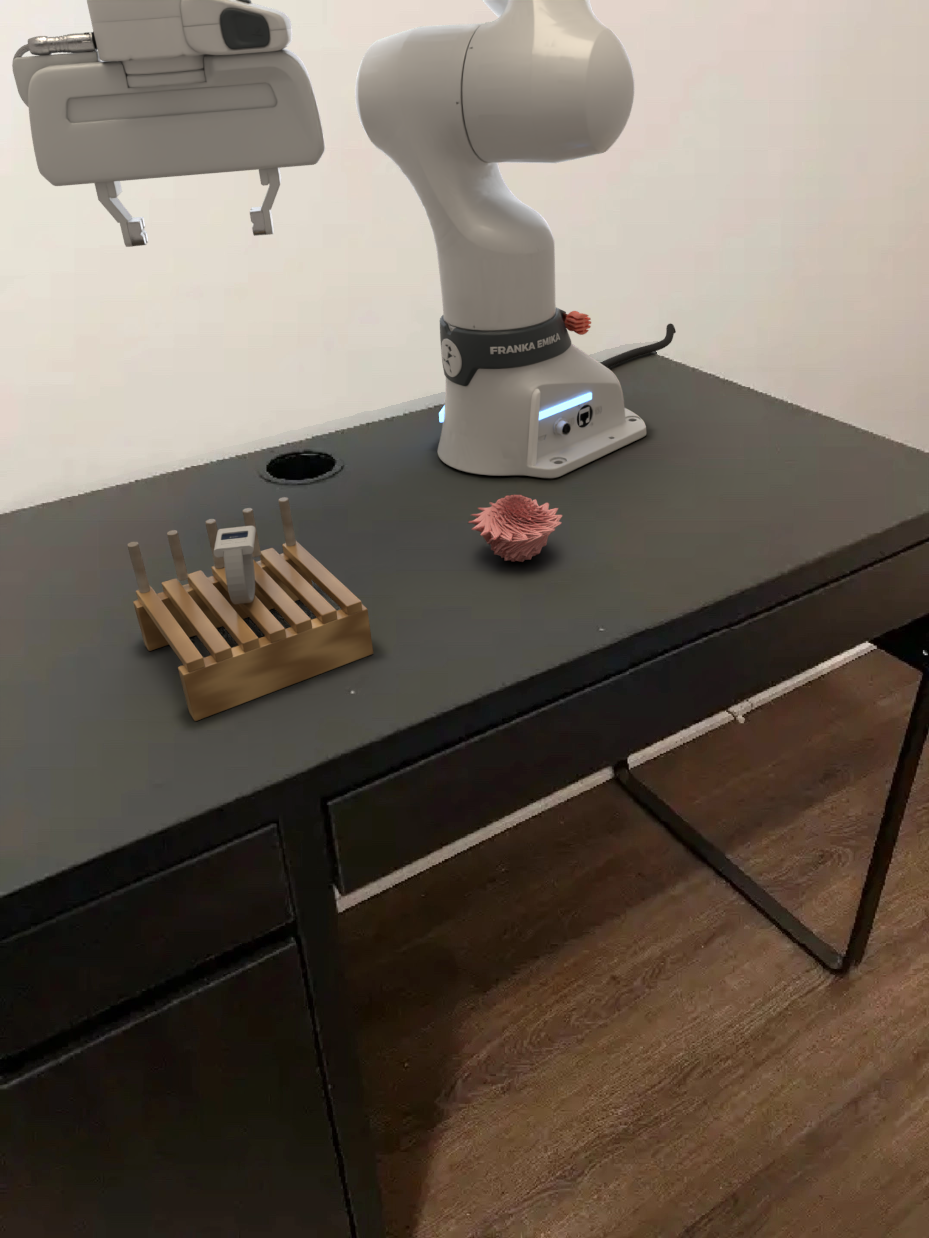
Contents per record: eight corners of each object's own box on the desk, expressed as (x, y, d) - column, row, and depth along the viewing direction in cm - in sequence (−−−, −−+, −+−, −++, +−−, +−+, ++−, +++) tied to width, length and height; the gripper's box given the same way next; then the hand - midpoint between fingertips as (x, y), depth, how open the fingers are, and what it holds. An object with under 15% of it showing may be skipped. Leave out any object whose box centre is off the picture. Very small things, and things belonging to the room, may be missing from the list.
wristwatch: (263, 616, 73) (251, 555, 71) (224, 621, 73) (210, 559, 71) (267, 574, 79) (256, 516, 76) (230, 578, 79) (218, 519, 76)
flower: (454, 568, 87) (449, 509, 84) (496, 528, 93) (493, 471, 90) (539, 586, 84) (537, 525, 81) (577, 543, 90) (577, 485, 87)
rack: (308, 589, 86) (292, 493, 81) (373, 654, 77) (360, 550, 73) (144, 644, 80) (117, 545, 76) (195, 721, 71) (167, 614, 67)
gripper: (-9, 41, 66) (50, 261, 74) (308, 17, 68) (335, 236, 75) (16, 36, 72) (69, 242, 79) (309, 14, 73) (334, 219, 80)
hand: (200, 239), depth 77 cm, fingers open, 8 cm apart
